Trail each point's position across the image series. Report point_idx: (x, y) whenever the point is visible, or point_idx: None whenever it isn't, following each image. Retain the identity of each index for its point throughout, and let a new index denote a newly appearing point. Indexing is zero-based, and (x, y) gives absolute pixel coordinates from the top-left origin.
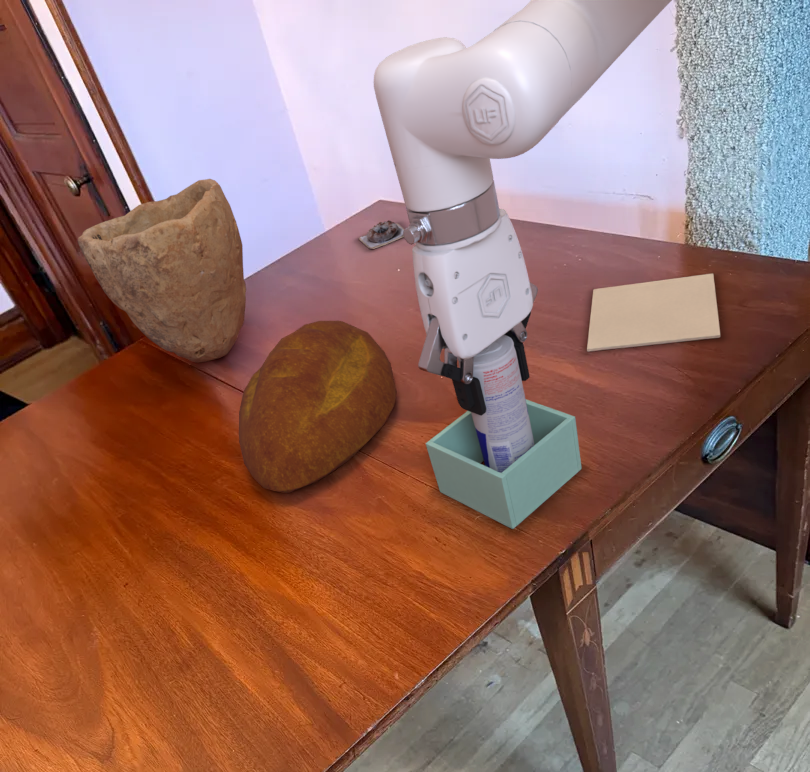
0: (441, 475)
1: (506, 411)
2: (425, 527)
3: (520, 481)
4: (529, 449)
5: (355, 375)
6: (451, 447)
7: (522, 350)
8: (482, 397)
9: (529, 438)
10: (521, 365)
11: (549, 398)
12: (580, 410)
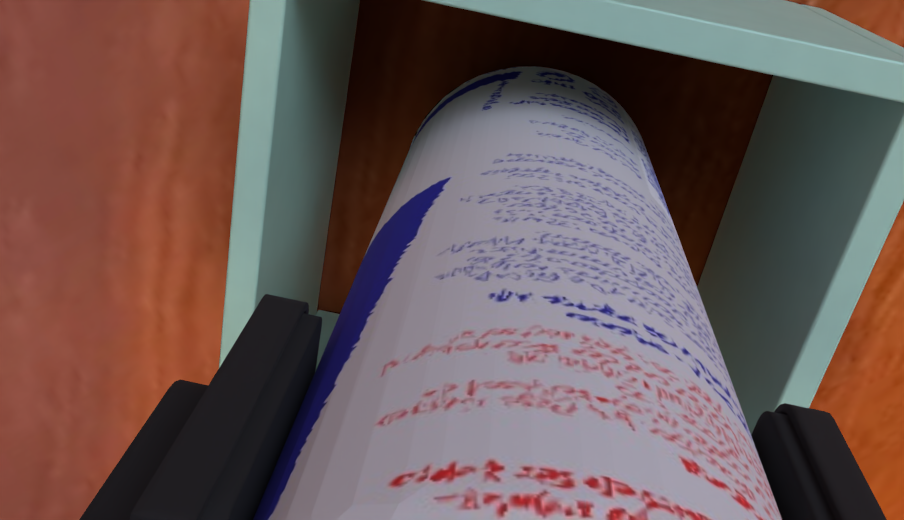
0: None
1: (664, 275)
2: (883, 356)
3: (780, 22)
4: (651, 47)
5: None
6: None
7: (190, 476)
8: (836, 499)
9: (512, 119)
10: (277, 396)
11: (3, 278)
12: (4, 117)
